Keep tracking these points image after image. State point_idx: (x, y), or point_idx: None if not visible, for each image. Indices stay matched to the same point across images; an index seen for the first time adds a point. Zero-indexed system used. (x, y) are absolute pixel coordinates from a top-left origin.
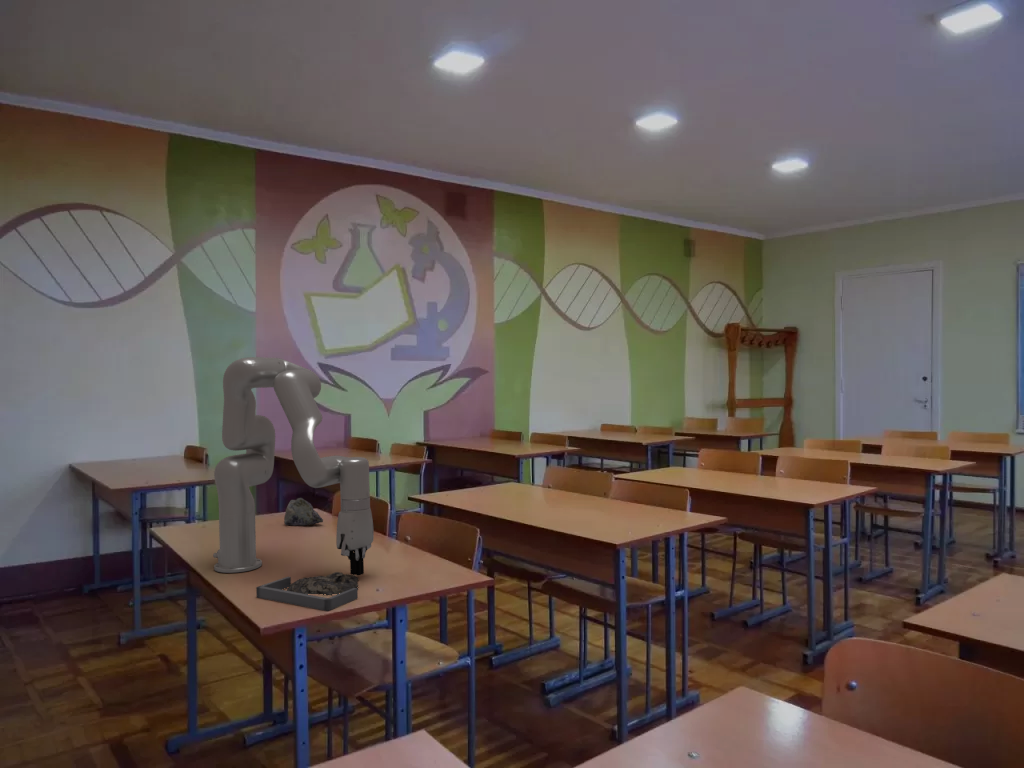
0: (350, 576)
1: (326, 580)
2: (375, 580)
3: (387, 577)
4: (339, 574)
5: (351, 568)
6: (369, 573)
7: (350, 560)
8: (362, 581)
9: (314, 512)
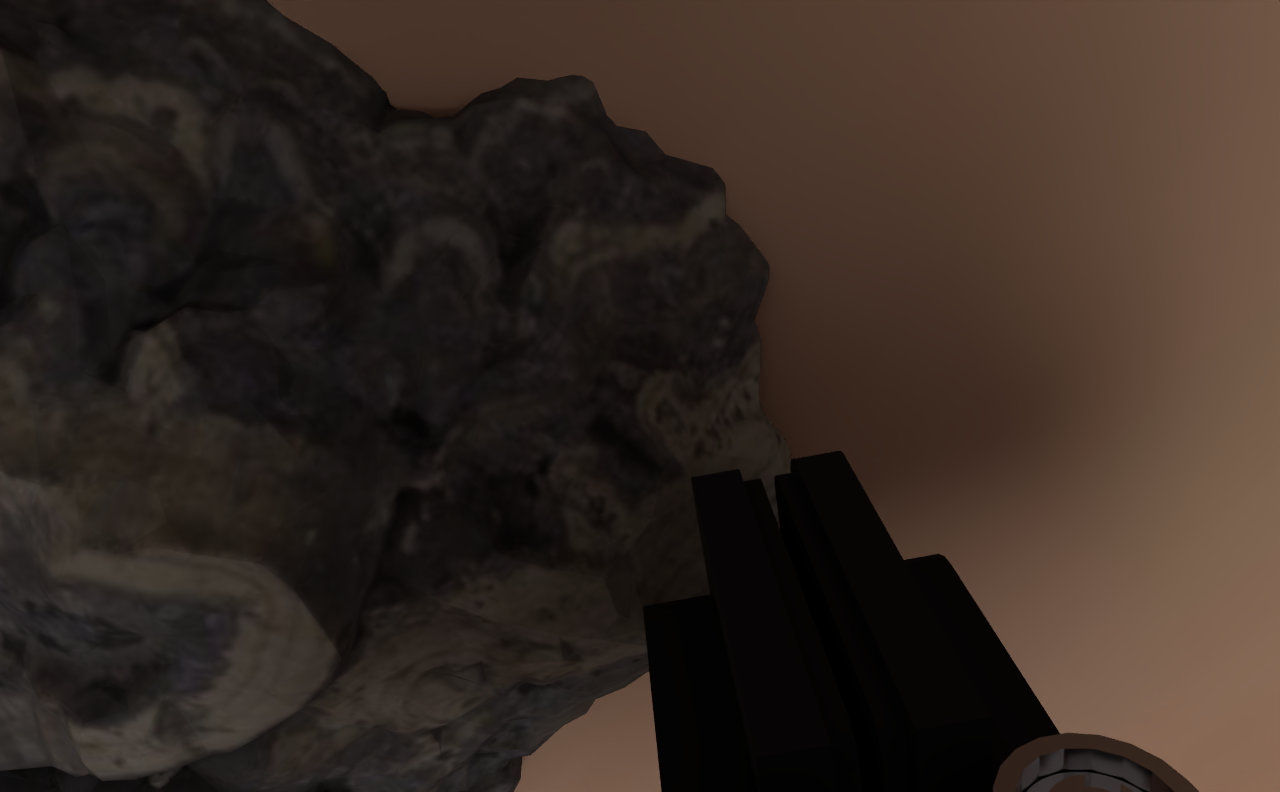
0: (508, 675)
1: None
2: None
3: None
4: (189, 710)
5: (652, 668)
6: (1222, 375)
7: (749, 737)
8: None
9: None
